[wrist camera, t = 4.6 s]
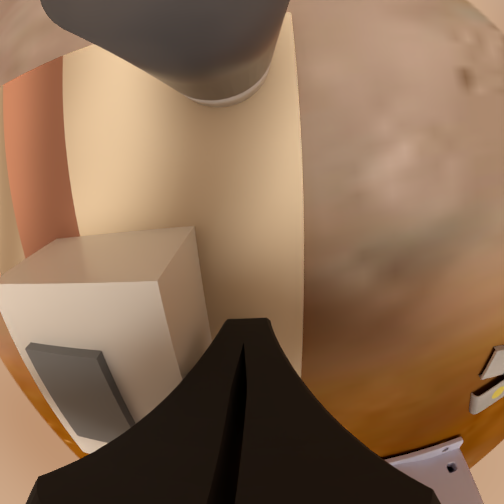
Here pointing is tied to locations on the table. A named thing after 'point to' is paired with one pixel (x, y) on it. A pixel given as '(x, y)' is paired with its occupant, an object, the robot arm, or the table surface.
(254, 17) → the grey capped cylinder
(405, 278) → the table surface
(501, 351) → the usb flash drive
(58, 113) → the panel
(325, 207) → the table surface
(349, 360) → the table surface
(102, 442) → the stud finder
